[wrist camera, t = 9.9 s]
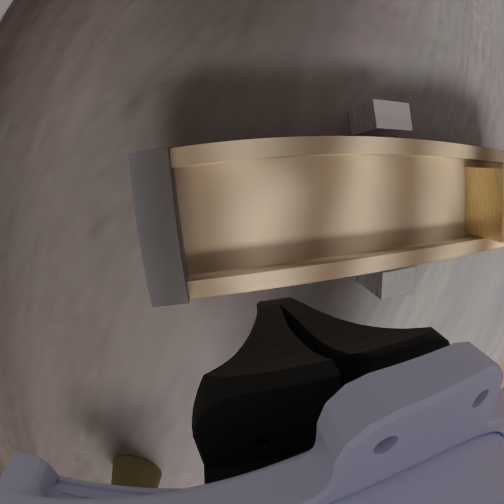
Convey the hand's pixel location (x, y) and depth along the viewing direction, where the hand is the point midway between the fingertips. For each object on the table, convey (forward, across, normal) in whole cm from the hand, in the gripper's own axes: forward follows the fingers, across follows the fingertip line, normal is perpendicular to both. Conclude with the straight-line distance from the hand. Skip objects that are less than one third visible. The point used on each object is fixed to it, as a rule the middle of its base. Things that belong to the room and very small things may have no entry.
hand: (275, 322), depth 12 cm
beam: (+7, -10, -4) cm, 13 cm away
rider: (+6, -19, -3) cm, 21 cm away
